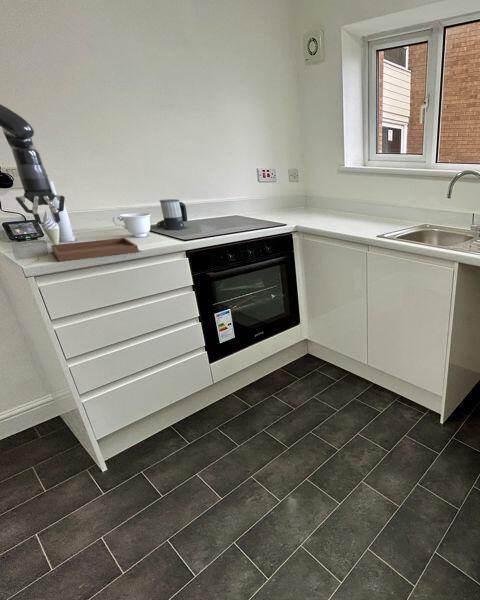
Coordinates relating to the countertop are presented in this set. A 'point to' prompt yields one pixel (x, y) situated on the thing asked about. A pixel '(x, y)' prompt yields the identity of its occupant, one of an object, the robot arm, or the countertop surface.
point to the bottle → (62, 220)
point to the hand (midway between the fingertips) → (48, 223)
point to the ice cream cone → (51, 228)
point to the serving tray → (93, 249)
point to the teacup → (135, 223)
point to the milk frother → (173, 214)
